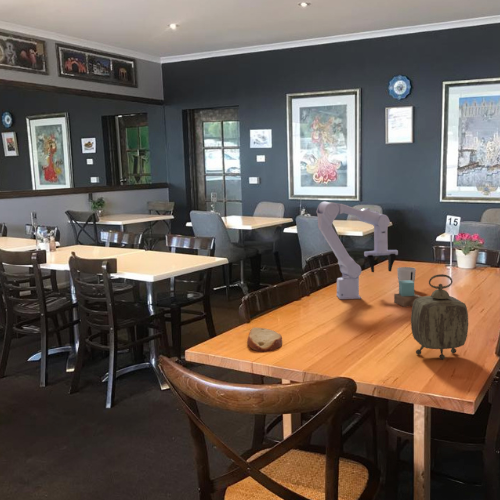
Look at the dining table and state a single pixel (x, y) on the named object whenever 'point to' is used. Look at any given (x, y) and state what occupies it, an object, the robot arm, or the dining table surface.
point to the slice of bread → (264, 339)
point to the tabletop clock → (439, 320)
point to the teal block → (406, 288)
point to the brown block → (405, 299)
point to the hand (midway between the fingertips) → (381, 271)
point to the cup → (406, 273)
